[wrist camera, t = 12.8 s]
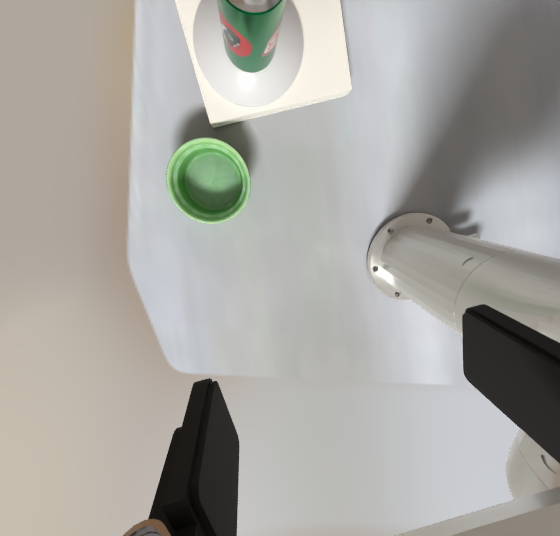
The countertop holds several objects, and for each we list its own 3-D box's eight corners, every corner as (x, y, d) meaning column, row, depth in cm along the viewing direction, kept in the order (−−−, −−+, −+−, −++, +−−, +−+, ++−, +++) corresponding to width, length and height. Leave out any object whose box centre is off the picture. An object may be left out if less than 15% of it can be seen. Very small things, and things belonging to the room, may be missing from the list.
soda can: (271, 79, 29) (288, 13, 18) (222, 69, 28) (206, -5, 17) (277, 20, 28) (300, -92, 16) (226, 9, 27) (211, -117, 15)
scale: (325, -40, 29) (338, -77, 25) (344, 96, 33) (358, 83, 29) (175, -6, 29) (162, -39, 24) (212, 128, 32) (207, 120, 28)
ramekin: (190, 128, 32) (182, 120, 28) (261, 163, 34) (263, 161, 30) (165, 200, 34) (154, 203, 30) (233, 229, 36) (232, 236, 32)
